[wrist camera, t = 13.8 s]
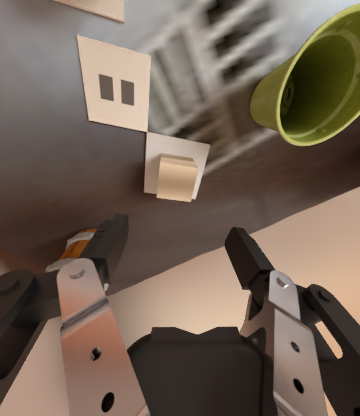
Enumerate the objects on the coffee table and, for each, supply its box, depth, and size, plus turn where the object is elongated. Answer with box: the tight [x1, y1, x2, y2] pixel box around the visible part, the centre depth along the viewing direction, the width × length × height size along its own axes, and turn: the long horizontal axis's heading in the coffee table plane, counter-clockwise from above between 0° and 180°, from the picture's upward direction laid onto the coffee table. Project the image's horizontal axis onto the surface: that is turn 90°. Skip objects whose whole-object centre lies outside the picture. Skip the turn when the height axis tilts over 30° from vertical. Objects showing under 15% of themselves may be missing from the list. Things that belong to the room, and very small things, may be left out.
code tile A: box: [77, 35, 151, 132], centre depth 18 cm, size 8×8×1 cm
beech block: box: [157, 153, 199, 202], centre depth 21 cm, size 5×5×6 cm
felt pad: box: [144, 132, 210, 199], centre depth 24 cm, size 10×10×1 cm
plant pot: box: [250, 3, 360, 146], centre depth 16 cm, size 9×9×9 cm
